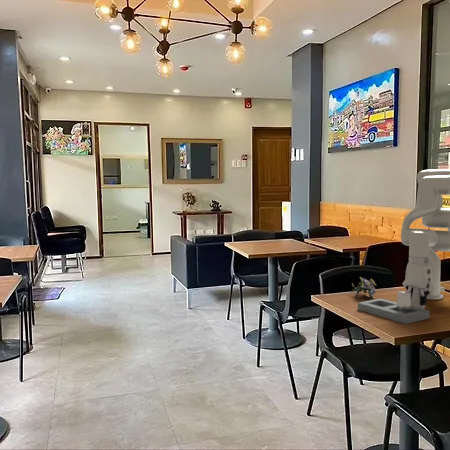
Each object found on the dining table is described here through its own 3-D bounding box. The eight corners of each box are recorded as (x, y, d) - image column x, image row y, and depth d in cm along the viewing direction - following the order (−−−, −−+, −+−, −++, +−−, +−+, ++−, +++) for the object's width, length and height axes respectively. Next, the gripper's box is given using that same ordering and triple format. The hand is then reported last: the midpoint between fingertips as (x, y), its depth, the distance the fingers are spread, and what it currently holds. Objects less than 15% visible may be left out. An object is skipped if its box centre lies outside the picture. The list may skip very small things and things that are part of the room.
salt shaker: (426, 310, 185) (427, 280, 184) (422, 313, 181) (423, 282, 180) (412, 308, 189) (413, 278, 188) (407, 311, 185) (408, 280, 184)
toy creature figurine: (372, 309, 209) (378, 292, 201) (348, 303, 211) (353, 287, 203) (372, 291, 217) (378, 275, 209) (350, 286, 219) (355, 270, 212)
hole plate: (380, 305, 196) (380, 298, 195) (429, 318, 175) (429, 310, 175) (357, 309, 189) (357, 302, 188) (406, 324, 168) (406, 316, 168)
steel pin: (402, 314, 181) (402, 290, 180) (413, 317, 176) (413, 292, 175) (394, 316, 178) (394, 292, 177) (404, 319, 174) (405, 294, 173)
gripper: (443, 262, 178) (441, 307, 180) (407, 257, 193) (406, 298, 194) (431, 264, 174) (430, 309, 176) (395, 258, 189) (394, 300, 190)
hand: (417, 303), depth 185 cm, fingers open, 4 cm apart
